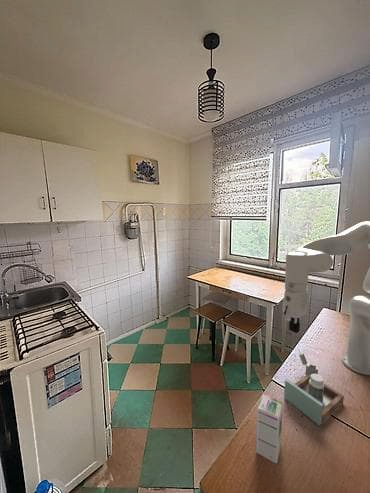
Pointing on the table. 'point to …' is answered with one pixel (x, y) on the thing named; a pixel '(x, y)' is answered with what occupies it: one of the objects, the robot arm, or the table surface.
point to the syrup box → (269, 428)
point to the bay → (324, 397)
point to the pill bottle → (316, 387)
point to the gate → (303, 401)
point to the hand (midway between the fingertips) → (294, 330)
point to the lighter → (308, 365)
